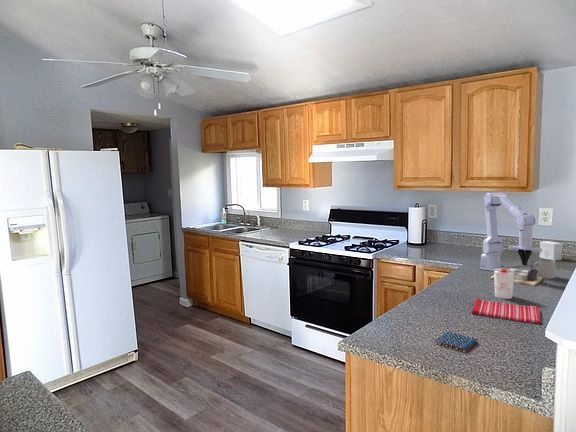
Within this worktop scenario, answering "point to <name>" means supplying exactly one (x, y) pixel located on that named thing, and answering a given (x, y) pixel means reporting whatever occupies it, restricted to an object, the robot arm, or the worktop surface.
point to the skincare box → (551, 250)
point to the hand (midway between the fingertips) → (524, 264)
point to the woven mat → (456, 341)
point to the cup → (546, 268)
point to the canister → (503, 282)
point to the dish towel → (507, 311)
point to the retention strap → (519, 266)
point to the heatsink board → (532, 283)
